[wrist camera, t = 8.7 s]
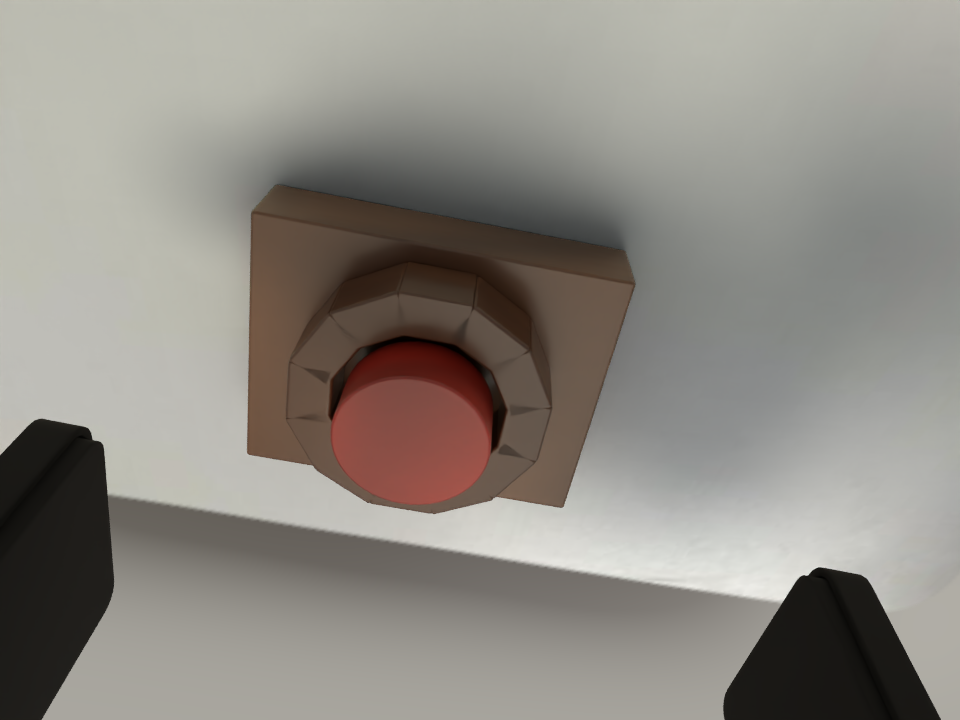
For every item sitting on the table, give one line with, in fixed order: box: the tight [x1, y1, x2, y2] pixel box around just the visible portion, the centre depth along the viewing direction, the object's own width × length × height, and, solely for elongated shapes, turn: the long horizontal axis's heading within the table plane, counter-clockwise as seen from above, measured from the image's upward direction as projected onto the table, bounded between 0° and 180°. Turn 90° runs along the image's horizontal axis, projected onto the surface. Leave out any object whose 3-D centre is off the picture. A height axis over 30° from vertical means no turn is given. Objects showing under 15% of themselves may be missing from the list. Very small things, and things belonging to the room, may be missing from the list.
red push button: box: [330, 341, 493, 505], centre depth 19 cm, size 4×4×2 cm
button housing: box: [247, 185, 635, 514], centre depth 21 cm, size 10×8×4 cm
